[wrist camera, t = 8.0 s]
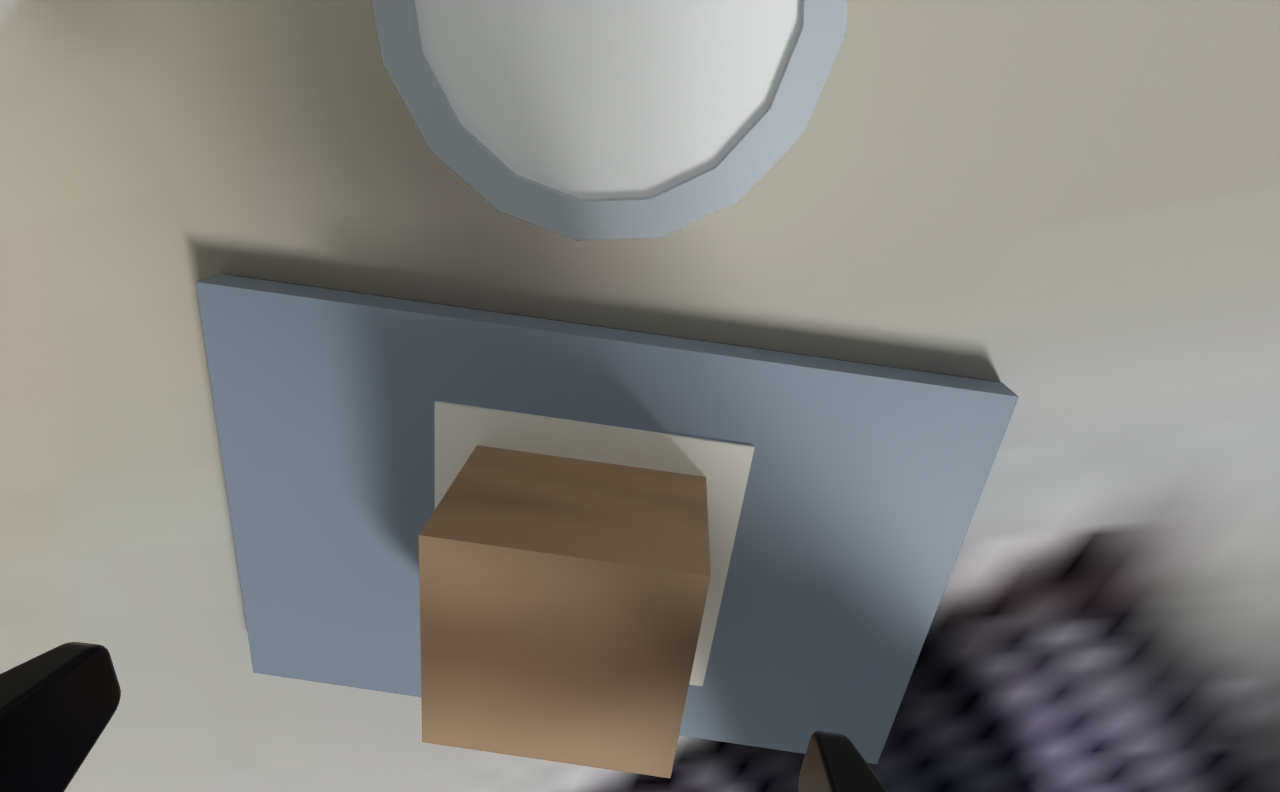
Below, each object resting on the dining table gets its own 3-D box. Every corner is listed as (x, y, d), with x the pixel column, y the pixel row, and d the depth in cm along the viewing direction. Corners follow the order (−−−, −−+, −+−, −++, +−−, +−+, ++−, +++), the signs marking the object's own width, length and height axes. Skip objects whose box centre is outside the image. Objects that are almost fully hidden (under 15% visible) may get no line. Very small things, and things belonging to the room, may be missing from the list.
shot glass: (818, -106, 14) (928, -293, 8) (749, 216, 17) (788, 277, 10) (505, -158, 14) (353, -387, 8) (487, 173, 17) (362, 206, 10)
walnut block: (673, 652, 21) (670, 778, 17) (472, 623, 21) (422, 741, 17) (706, 476, 19) (710, 576, 15) (476, 445, 19) (418, 535, 15)
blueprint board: (869, 739, 24) (877, 767, 23) (270, 651, 24) (251, 674, 23) (1002, 382, 18) (1020, 398, 17) (220, 273, 18) (192, 282, 17)
